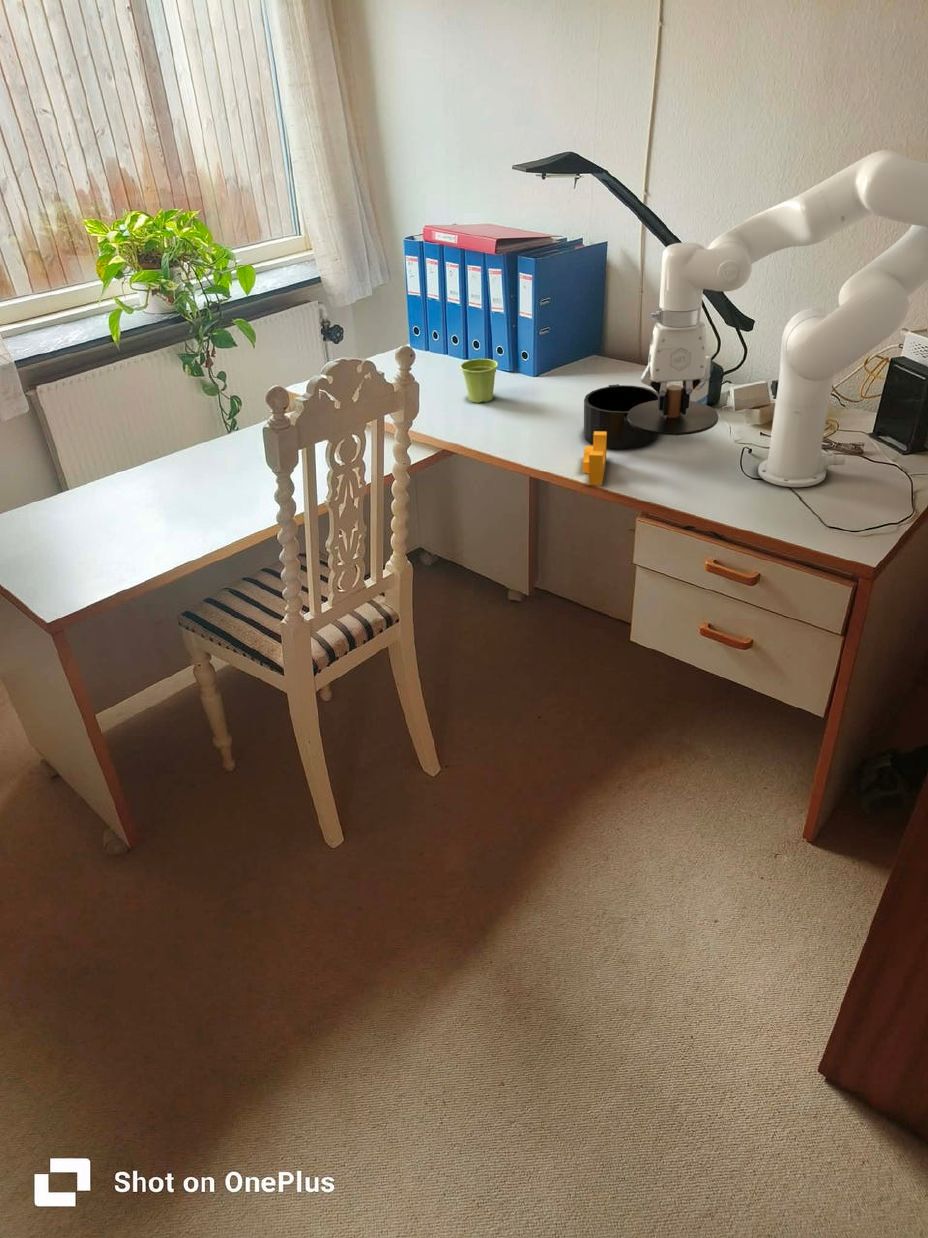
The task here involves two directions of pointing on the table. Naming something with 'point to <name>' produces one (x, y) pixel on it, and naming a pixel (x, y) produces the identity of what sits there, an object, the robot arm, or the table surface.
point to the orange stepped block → (595, 458)
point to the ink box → (701, 390)
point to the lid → (673, 416)
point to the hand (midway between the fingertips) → (672, 411)
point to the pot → (617, 416)
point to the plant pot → (479, 378)
